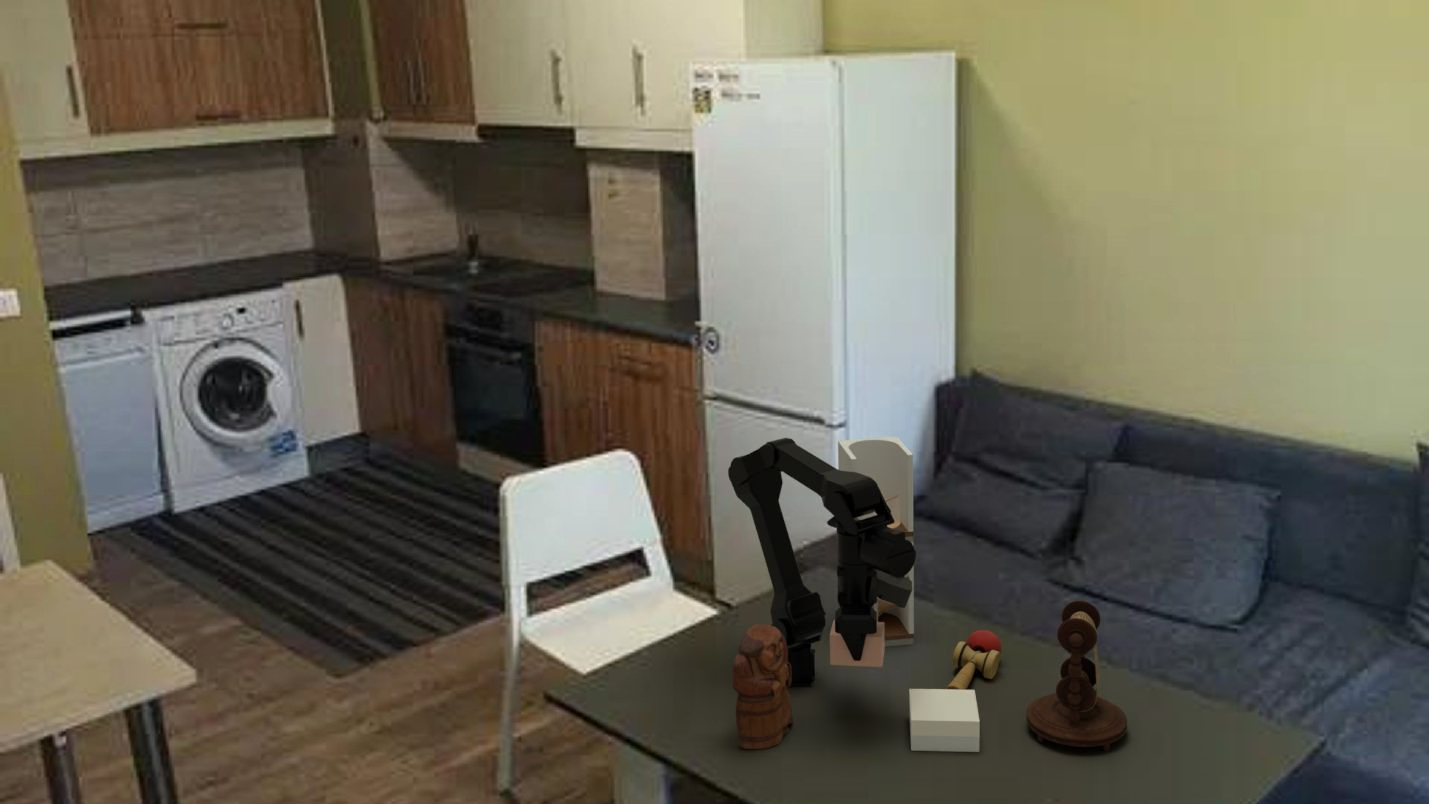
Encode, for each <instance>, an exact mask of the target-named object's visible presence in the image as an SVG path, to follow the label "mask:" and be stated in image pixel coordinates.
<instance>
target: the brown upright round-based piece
mask: <svg viewBox="0 0 1429 804" xmlns="http://www.w3.org/2000/svg"><path fill="white" fill-rule="evenodd" d="M1061 621H1062V622H1061V623H1060V625H1059V627H1058V628H1057V633H1056V635H1057V636H1056V637H1057V641H1058V643H1059V644H1060V646H1061V647H1062V648H1063V649H1064V650H1065V651H1066V652H1067V653H1068V654H1069V655H1070V657H1068V658H1066V659H1065V660H1064V661H1063V663H1062V664H1061V666H1060V673H1059V674H1060V678H1061V679H1060V680H1059V681H1058V682H1057V685H1056V688H1055V692H1054V693H1050V694H1047V695H1043V696H1041V697H1038V698H1037V699H1034V700H1033V701H1032V702H1031V703H1030V704H1029V705H1028V706H1027V708H1026V716H1025V717H1026V718H1025V719H1026V723H1027V726H1028V727H1029V728H1030V730H1031V731H1033V732H1034V733H1035V734H1036V736H1037V740H1038V741H1039V742H1040V743H1042V742H1043V741H1044V739H1045V740H1048V741H1050V742H1054V743H1056V744H1060V745H1064V746H1070V747H1080V748H1081V747H1082V748H1089V747H1091V748H1093V747H1101V746H1102V748H1103V750H1104V752H1105V751H1106V752H1108V750H1109V749H1110V747H1111V744H1112V743H1114V742H1117V741H1118V740H1120V739H1122V738H1123V737H1124V736H1125V735H1126V733H1127V730H1128V718H1127V714H1126V713H1125V712H1124V710H1123V709H1121V708H1120V707H1119V706H1117V705H1116V704H1114V703H1113V702H1111V701H1109V700H1107V699H1105V698H1103V697H1100V696H1098V693H1099V692H1098V691H1099V688H1100V681H1101V671H1100V670H1101V669H1100V663H1099V656H1098V648H1097V647H1098V646H1097V641H1098V634H1097V630H1098V629H1099V626H1100V625H1101V615H1100V612H1099V610H1098V608H1096V606H1094V604H1092V603H1090V602H1089V601H1086V600H1073V601H1070V602H1069V603H1068V604H1066V605H1065V607H1064V608H1063V610H1062V612H1061ZM1091 651H1092V654H1093V657H1094V658H1093V660H1094V662H1093V661H1092V660H1091V659H1090V658H1087V657H1086V655H1087V654H1088V653H1089V652H1091ZM1095 685H1096V688H1094V686H1095Z"/></svg>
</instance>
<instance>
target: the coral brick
mask: <svg viewBox="0 0 1429 804" xmlns="http://www.w3.org/2000/svg"><path fill="white" fill-rule="evenodd" d="M832 621H833V622H832V625H831V629H830V633H829V660H830V661H829V663H830V665H831V666H846V667H847V666H851V667H873V668H883V665H884V664H883V663H884V659H885V658H884V657H885V649H886V647H885V638H884V622H877V633H874V634H867V635H866V639H865V643H864V648H863V653H862V657H861V660H860V661H854V660H853V658H852V656H851V654H850V652H849V650H848V648H847V646H846V644H845V642H844V640H843V638H842V636H841V634H838V633H836V632H835V619H833V620H832Z"/></svg>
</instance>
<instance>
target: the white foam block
mask: <svg viewBox="0 0 1429 804" xmlns="http://www.w3.org/2000/svg"><path fill="white" fill-rule="evenodd" d="M908 692H909V695H908V700H909V701H908V705H909V713H908V715H909V717H908V718H909V731H910V732H909V733H910V734H909V736H910V750H911V751H913V752H914V751H915V752H916V751H918V752H919V751H920V752H959V753H960V752H962V753H963V752H964V753H966V752H967V753H968V752H969V753H980V729H981V727H980V721H981V720H980V716H979V715H980V714H979V708H978V703H977V702H978V701H977V697H976V691H975V689H966V690H955V689H946V688H945V689H944V688H943V689H941V688H909V690H908Z"/></svg>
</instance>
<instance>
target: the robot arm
mask: <svg viewBox="0 0 1429 804" xmlns="http://www.w3.org/2000/svg"><path fill="white" fill-rule="evenodd" d="M782 472H783V473H784V474H785V475H788V476H789V477H790V478H792V479H793V480H794V481H797V482H798V483H800V484H801V485H803V486H804V487H806V488H807V489H809V490H811V491H812V492H814V493H815V494H817V495H818V496H820V497H821V500H822V505H823V507H824V508H825V509H826V510H827V511H828V512H829V513H830V514H831V515H832V517H831V518H829V519H828V520H827V522H826V524H827V526H830V527H831V528H832V527H833V528H835V529H836V557H837V558H836V563H837V566H836V577H837V597H836V598H837V604H838V606H839V608H838V609H837V610H836V611H835V613H834V614H835V616H834V620H835V632H836V633H838V634H841V636H842V638H843V640H844V642H845V644H846V646H847V648H848V650H849V652H850V654H851V656H852V658H853V660H854V661H860V660H861V657H862V653H863V648H864V643H865V639H866V635H867V634H874V633H877V612H876V611H875V610H874V609H873V608H872V606H873V605H874V604H875V603H877V597H878V598H879V599H881V600H884V601H887V602H890V603H893V604H895V605H897V606H898V607H901V608H905V607H906V605H907V602H908V600H909V597H910V595H911V592H912V581H911V580H910V579H909V577H905V575H906V574H907V573H908V572H909V571H910V570H911V569H912V567H913V565H915V563H916V562H915V561H916V557H917V551H916V550H915V547H914V546H913V544H912V543H911V542H910V541H908V540H906V539H905V532H904V531H901V530H895V529H892V528H890V527H887V525H890V524H894V519H893V517H892V514H891V510H890V508H889V507H888V505H887V504H886V502H885V500H884V497H883V495H882V493H881V491H880V489H879V487H878V484H877V483H876V482H875V481H874V480H873V479H872V478H871V477H868V476H865V475H863V474H860V473H857V472H848V471H841V470H839V469H838V468H836V467H834V466H833V465H831V464H829V463H827V462H826V461H824V460H822V459H821V458H819V457H818V456H816V455H814V454H813V453H812V452H810V451H808V450H806V449H804V448H803V447H801V446H800V445H798V444H797V443H796V441H794V439H792V438H788V437H783V438H779V439H775V440H774V439H773V440H771V441H767V442H766V443H765V444H763V445H761V446H760V447H759V448H757V449H755V450H753V451H752V452H750V453H747V454H745V455H740V456H737V457H734V458H732V459H731V462H730V465H729V467H728V470H727V475H728V478H729V481H730V482H731V486H732V488H733V491H734V493H735V496H736V497H737V498H738V499H739V500H740V501H741V502H742V503H743V504H745V506H746V507H747V508H749V510H750V513H751V517H752V521H753V523H754V527H755V531H756V534H757V538H758V541H759V543H760V547H761V551H762V554H763V558H764V560H765V564H766V565H765V566H766V568H767V570H768V571H767V572H768V575H769V578H770V581H771V585H772V589H773V592H774V594H773V598H772V601H771V606H770V617H771V622H772V624H770V625H771V626H774V627H776V628H777V629H778V630H779V631H780V632H781V633H782V635H783V636H784V637H785V640H786V644H787V649H788V662H789V663H790V664H791V672H792V681H791V686H790V687H795V686H796V687H797V686H798V687H810V686H812V685H813V680H814V678H816V674H817V673H816V672H817V669H816V667H817V666H816V664H817V663H816V658H817V657H816V649H815V648H812V647H813V646H812V644H814V643H816V642H817V643H818V642H820V641H821V639H822V635H823V632H824V628H825V627H826V626H827V625H826V622H827V621H826V615H827V613H826V611H825V610H824V608H823V604H822V599H821V595H820V594H819V593H818V591H814V592H812V591H811V590H810V589H809V587H807V586H806V585H805V584H804V582H803V578H802V575H801V572H800V568H799V565H798V562H797V559H796V558H797V557H796V555H795V552H794V548H793V544H792V542H791V541H792V540H791V538H790V535H789V532H788V528H787V525H786V521H785V519H784V515H783V511H782V508H781V504H780V496H781V493H782V488H783V483H784V482H783V481H784V480H783V475H782ZM873 512H875V513H876V514H877V515H875V516H872V517H869V518H865V519H862V520H861V519H858V517H861V516H864V515H867V514H871V513H873Z"/></svg>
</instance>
